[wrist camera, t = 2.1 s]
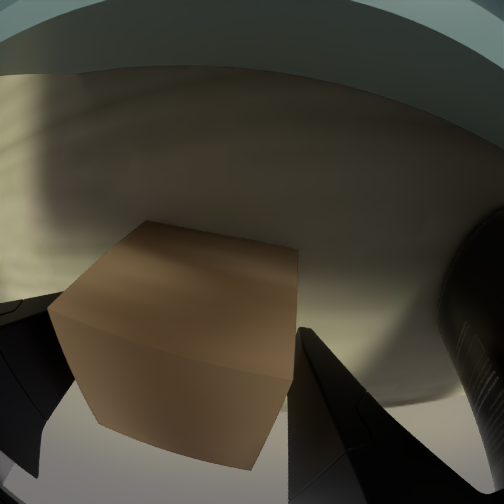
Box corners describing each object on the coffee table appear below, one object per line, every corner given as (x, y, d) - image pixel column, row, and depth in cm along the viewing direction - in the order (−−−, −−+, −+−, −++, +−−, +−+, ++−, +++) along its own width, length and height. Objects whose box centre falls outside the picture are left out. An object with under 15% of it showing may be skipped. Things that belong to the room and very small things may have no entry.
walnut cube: (152, 330, 12) (98, 423, 7) (146, 219, 9) (47, 308, 5) (269, 357, 11) (250, 470, 7) (298, 248, 9) (293, 380, 4)
